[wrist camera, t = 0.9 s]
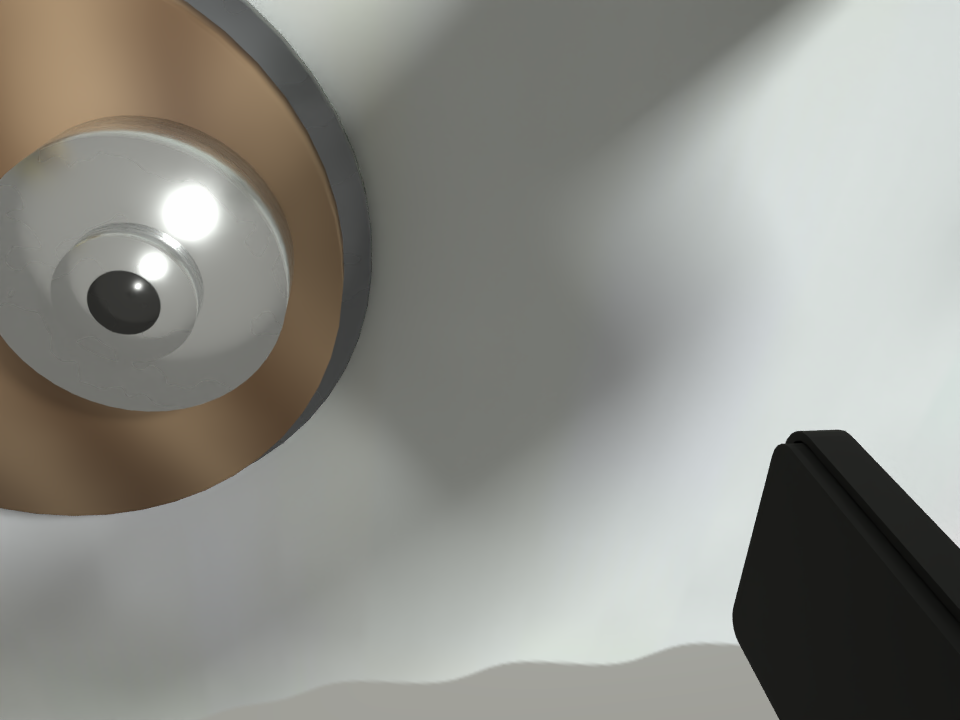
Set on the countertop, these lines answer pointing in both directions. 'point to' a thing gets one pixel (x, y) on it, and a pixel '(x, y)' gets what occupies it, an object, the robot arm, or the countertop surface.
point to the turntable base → (300, 87)
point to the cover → (141, 264)
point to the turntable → (246, 130)
